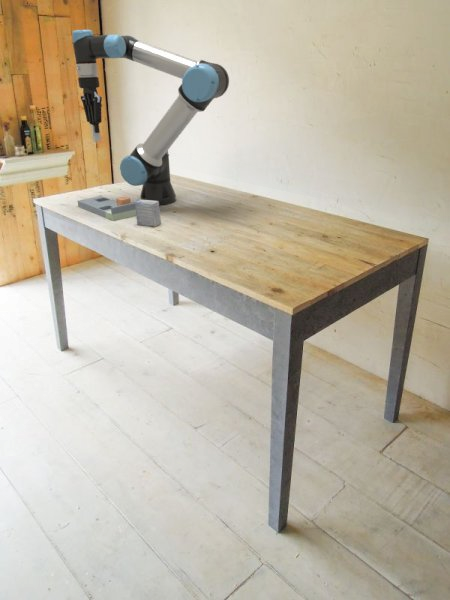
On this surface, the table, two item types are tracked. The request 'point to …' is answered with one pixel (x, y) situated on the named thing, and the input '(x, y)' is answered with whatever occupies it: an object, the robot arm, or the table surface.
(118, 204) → the block
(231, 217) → the table surface
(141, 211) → the medicine box
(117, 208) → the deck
